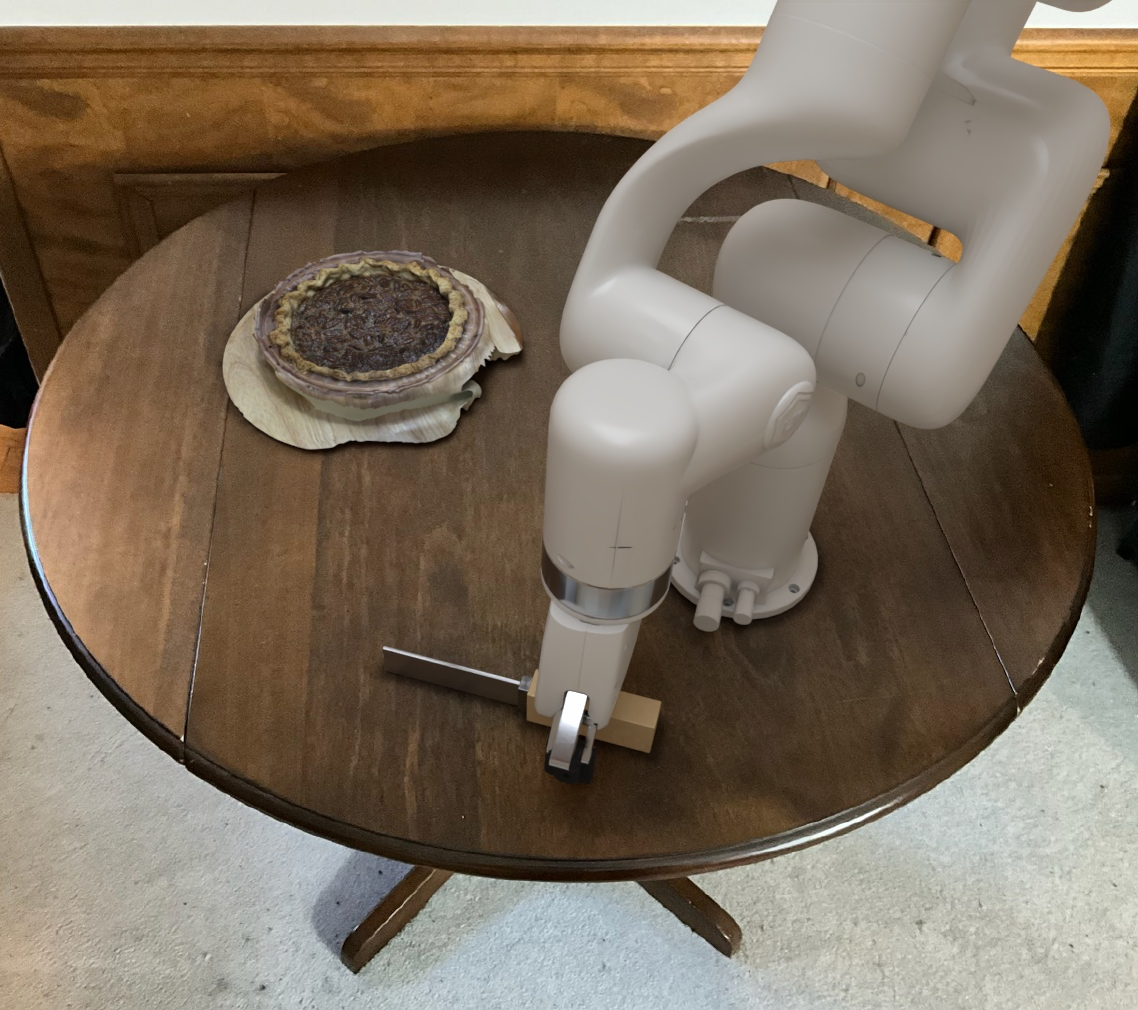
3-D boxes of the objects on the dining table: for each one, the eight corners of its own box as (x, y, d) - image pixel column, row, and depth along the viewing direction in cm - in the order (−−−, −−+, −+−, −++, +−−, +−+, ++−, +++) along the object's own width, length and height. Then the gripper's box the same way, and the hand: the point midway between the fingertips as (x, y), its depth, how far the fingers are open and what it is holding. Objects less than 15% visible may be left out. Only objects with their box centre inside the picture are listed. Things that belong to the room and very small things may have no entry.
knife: (656, 726, 74) (661, 701, 71) (649, 754, 72) (654, 728, 70) (392, 657, 77) (388, 629, 74) (381, 682, 75) (376, 655, 73)
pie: (197, 454, 89) (183, 412, 86) (250, 261, 107) (240, 220, 103) (523, 454, 91) (524, 413, 87) (522, 264, 109) (522, 223, 105)
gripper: (582, 440, 65) (568, 603, 78) (497, 663, 54) (496, 811, 66) (700, 467, 64) (665, 628, 77) (638, 700, 53) (609, 844, 65)
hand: (587, 713), depth 72 cm, fingers open, 9 cm apart
